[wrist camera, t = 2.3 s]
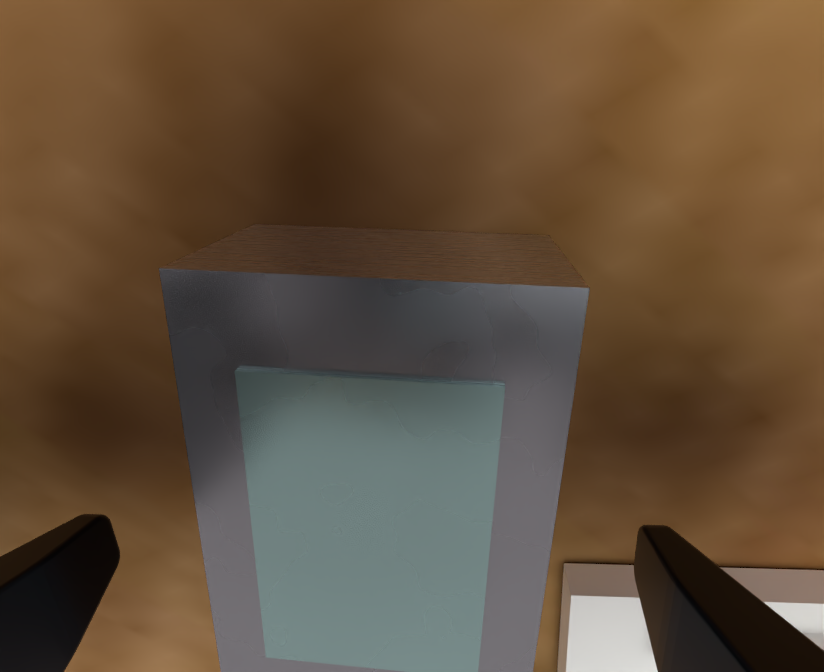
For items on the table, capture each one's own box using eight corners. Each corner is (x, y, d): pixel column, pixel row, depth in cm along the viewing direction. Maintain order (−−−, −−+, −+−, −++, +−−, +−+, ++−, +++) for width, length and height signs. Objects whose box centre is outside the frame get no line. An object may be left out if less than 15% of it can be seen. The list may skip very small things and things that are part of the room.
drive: (286, 555, 15) (223, 705, 11) (259, 221, 11) (155, 269, 8) (508, 574, 14) (524, 738, 10) (547, 232, 11) (590, 289, 7)
